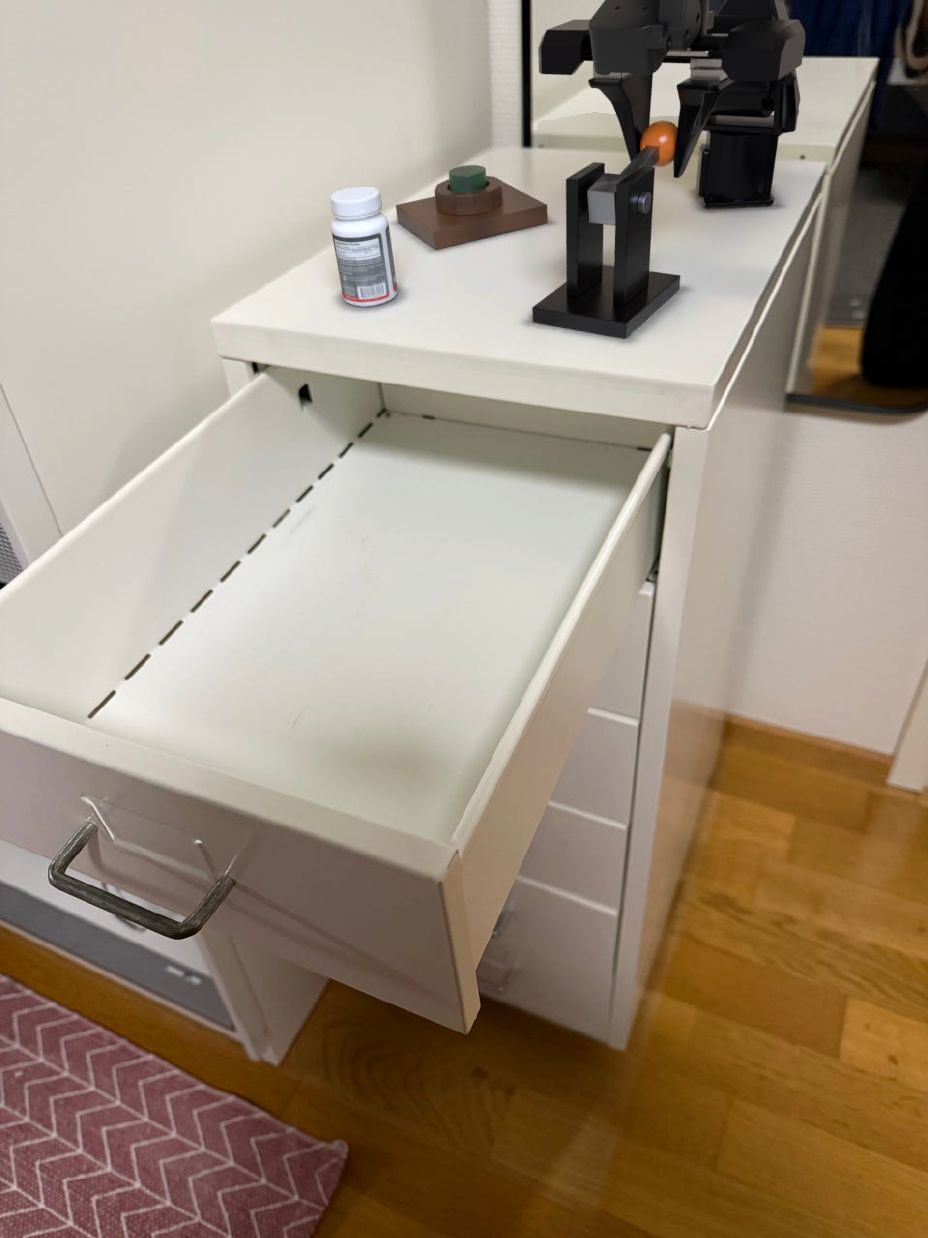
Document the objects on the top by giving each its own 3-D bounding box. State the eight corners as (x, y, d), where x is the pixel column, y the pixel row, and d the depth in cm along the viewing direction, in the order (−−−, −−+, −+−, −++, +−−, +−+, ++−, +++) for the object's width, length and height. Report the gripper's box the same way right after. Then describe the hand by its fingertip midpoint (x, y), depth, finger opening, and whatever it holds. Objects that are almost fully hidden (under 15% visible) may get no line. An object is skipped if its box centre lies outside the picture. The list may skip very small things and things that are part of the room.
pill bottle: (364, 283, 78) (348, 181, 72) (408, 289, 76) (395, 186, 70) (332, 303, 75) (313, 199, 69) (377, 311, 73) (361, 204, 67)
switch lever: (650, 153, 72) (650, 111, 69) (688, 156, 70) (688, 114, 68) (583, 227, 66) (580, 184, 63) (622, 231, 64) (620, 188, 62)
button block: (502, 197, 93) (500, 161, 91) (547, 222, 86) (547, 184, 83) (397, 222, 90) (393, 185, 87) (435, 249, 83) (431, 210, 80)
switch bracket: (590, 276, 75) (592, 150, 68) (679, 289, 71) (690, 157, 65) (532, 322, 69) (527, 188, 62) (625, 339, 65) (631, 198, 59)
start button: (477, 181, 87) (476, 162, 86) (493, 189, 85) (492, 170, 84) (444, 188, 87) (442, 169, 85) (459, 197, 84) (457, 177, 83)
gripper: (495, -52, 59) (506, 194, 70) (768, -63, 51) (735, 218, 61) (572, -71, 66) (572, 156, 76) (826, -84, 58) (787, 173, 68)
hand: (658, 174), depth 70 cm, fingers closed on switch lever, 3 cm apart
